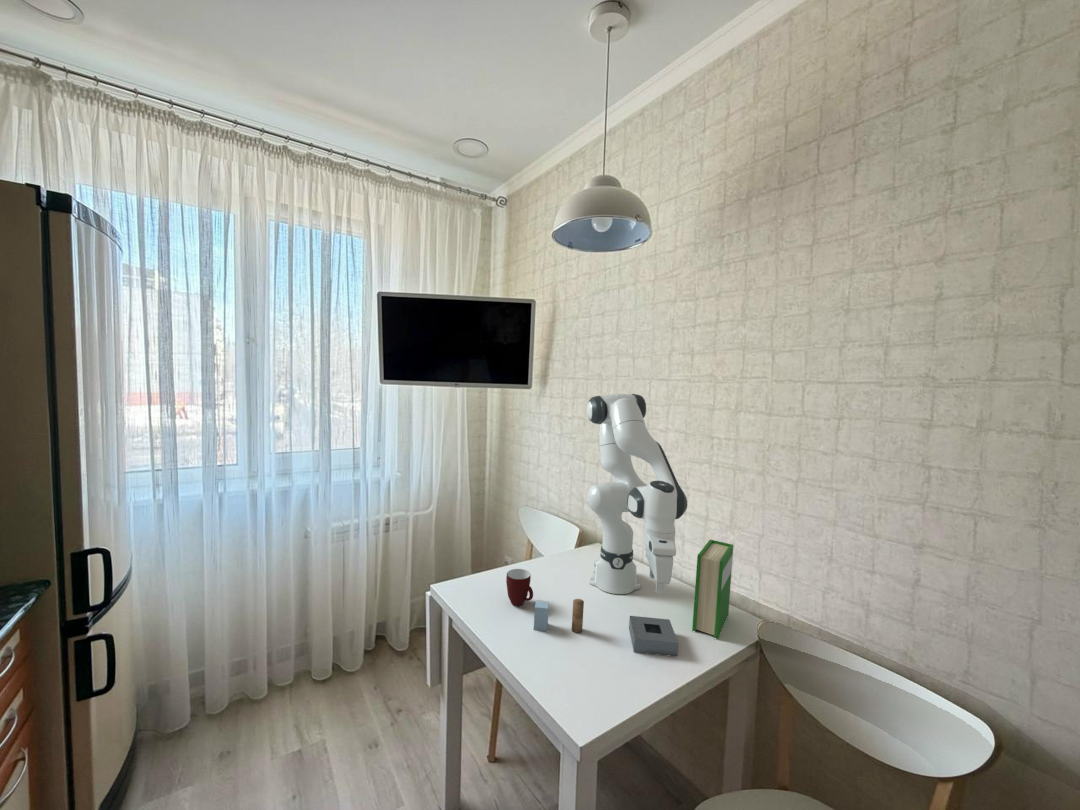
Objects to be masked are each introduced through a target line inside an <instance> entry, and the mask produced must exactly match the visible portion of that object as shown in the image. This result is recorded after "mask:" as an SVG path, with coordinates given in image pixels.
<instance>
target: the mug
mask: <svg viewBox="0 0 1080 810" xmlns="http://www.w3.org/2000/svg"><path fill="white" fill-rule="evenodd" d="M505 579H506V580H505V581H506V583H505V584H506V589H507V597H508V599H509V601H510V603H511V604H512V606H515V607H519V606H523V604H524V603H525V602H530V601H531V600H532V599H533V598H534V591H533V587H532V586H530V585H531V579H532V577H531V572H530V571H529V570H527V569H523V568H514V569H513V568H512V569H510V570H508V571H507V572H506V578H505ZM528 596H529V597H528Z"/></svg>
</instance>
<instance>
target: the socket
mask: <svg viewBox="0 0 1080 810" xmlns="http://www.w3.org/2000/svg"><path fill="white" fill-rule="evenodd" d="M628 619H629V620H628V621H629V622H628V630H629V634H630V635H629V636H630V640H631V645H632V649H633V650H632V651H633V653H635V654H637V653H639V654H646V653H649V654H648V655H655V654H659V655H658V656H665V655H670V656H669V657H675V656H678V654H679V641H678V638H677V636H676V632H675V631H674V627H673V626H672V622H671V619H669V618H667V619H666V618H658V617H657V618H656V617H649V616H648V617H647V616H640V615H639V616H636V615H629V618H628Z"/></svg>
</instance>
